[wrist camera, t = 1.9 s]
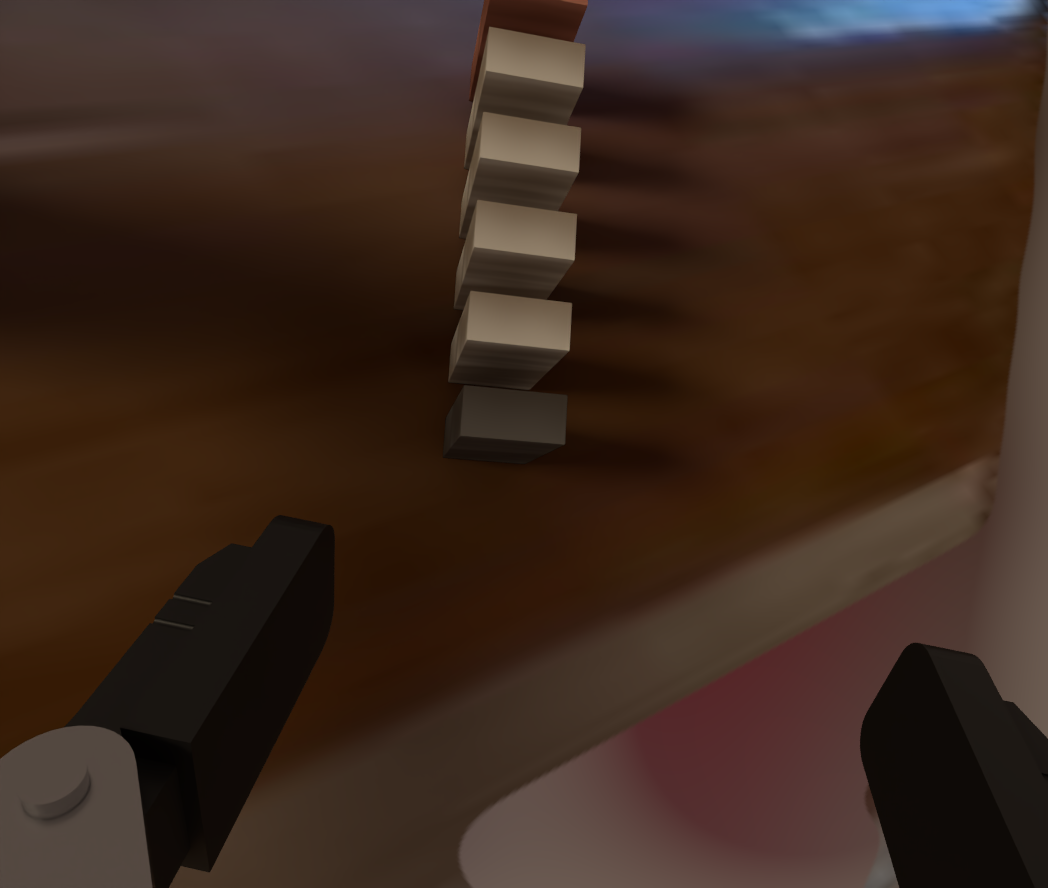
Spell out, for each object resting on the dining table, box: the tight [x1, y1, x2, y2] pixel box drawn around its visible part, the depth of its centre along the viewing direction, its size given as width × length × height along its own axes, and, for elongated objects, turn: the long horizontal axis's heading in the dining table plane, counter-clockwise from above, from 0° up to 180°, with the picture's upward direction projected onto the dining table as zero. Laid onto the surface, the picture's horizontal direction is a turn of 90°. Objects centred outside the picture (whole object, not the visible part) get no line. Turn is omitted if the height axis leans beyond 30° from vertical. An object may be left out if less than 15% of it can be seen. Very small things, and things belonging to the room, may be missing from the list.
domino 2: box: [464, 27, 585, 169], centre depth 42 cm, size 2×5×10 cm, turn 87°
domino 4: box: [454, 200, 577, 310], centre depth 41 cm, size 2×5×10 cm, turn 86°
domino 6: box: [443, 385, 567, 464], centre depth 39 cm, size 2×5×10 cm, turn 87°
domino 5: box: [448, 291, 572, 390], centre depth 40 cm, size 2×5×10 cm, turn 87°
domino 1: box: [469, 0, 588, 101], centre depth 42 cm, size 2×5×10 cm, turn 86°
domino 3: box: [459, 112, 581, 239], centre depth 41 cm, size 2×5×10 cm, turn 86°
